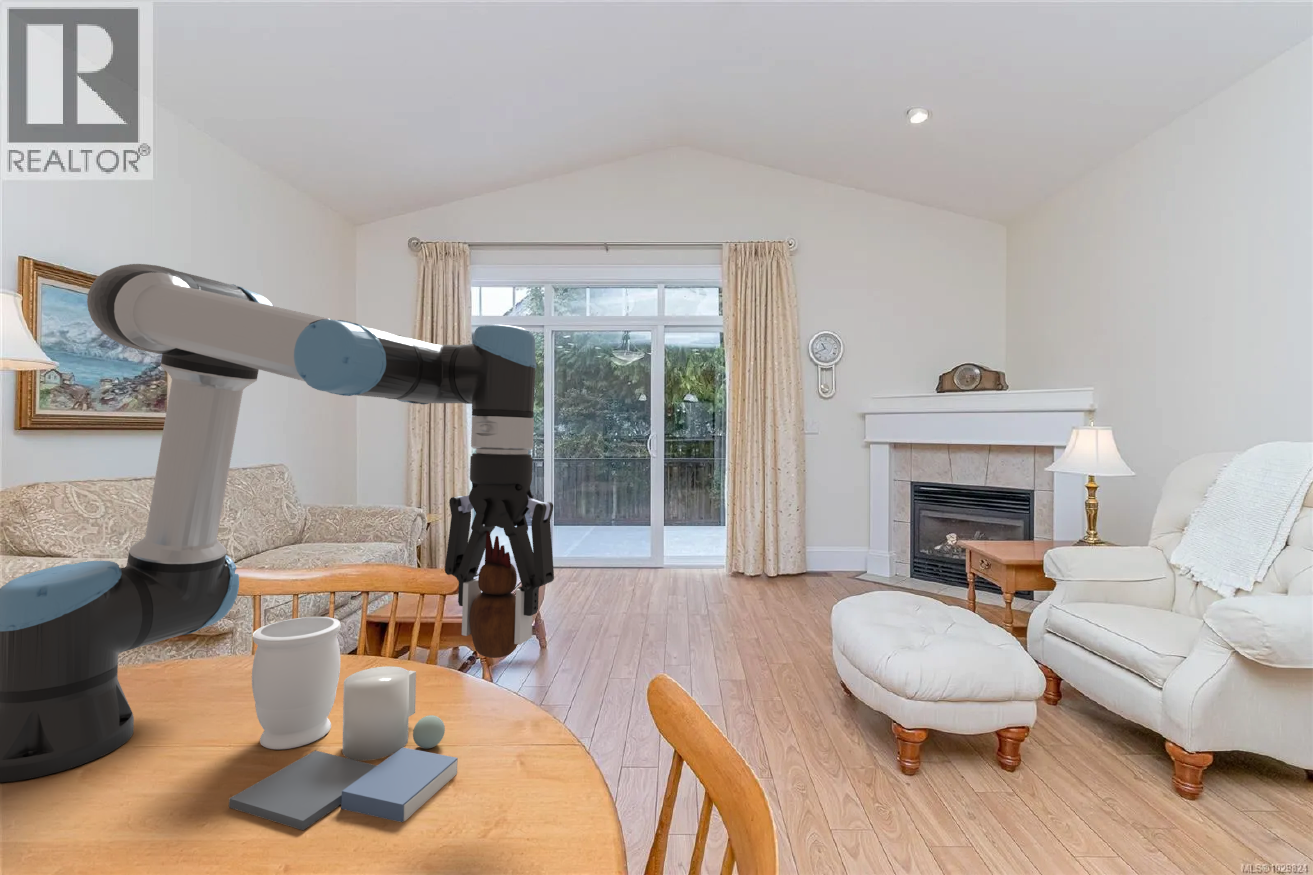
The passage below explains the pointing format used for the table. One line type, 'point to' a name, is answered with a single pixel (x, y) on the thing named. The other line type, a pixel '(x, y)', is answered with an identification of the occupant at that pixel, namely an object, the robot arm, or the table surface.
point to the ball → (428, 731)
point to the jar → (295, 679)
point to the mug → (377, 711)
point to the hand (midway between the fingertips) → (496, 636)
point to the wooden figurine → (494, 604)
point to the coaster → (301, 790)
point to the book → (399, 784)
